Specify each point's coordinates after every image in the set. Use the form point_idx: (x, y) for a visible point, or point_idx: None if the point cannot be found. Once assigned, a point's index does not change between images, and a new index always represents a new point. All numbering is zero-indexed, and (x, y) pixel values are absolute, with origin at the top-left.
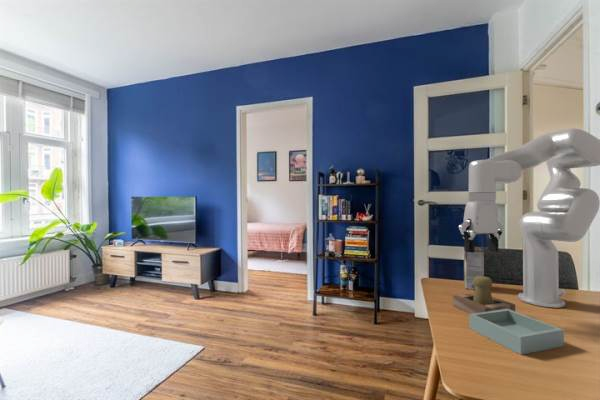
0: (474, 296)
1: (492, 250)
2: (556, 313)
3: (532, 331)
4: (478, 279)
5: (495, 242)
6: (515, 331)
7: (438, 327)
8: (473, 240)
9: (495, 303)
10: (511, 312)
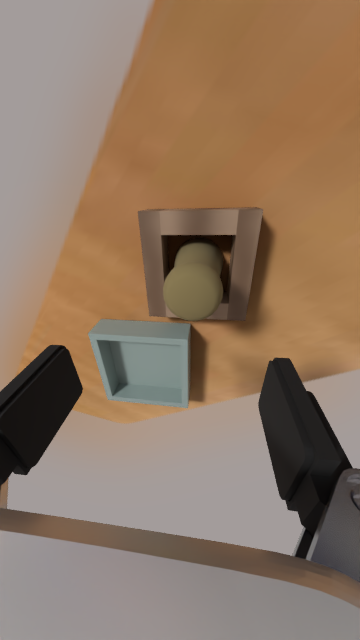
0: (175, 264)
1: (263, 387)
2: (351, 325)
3: (180, 367)
4: (165, 301)
5: (277, 468)
6: (155, 358)
7: (49, 299)
8: (20, 470)
9: (230, 279)
10: (180, 349)
